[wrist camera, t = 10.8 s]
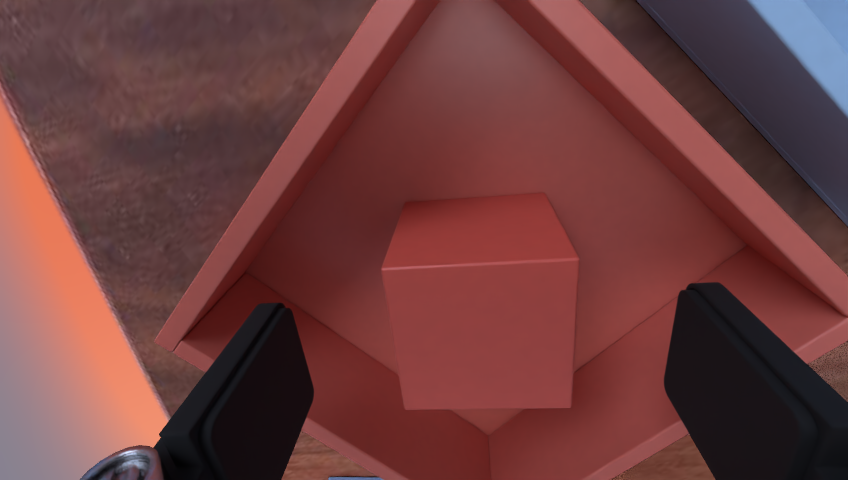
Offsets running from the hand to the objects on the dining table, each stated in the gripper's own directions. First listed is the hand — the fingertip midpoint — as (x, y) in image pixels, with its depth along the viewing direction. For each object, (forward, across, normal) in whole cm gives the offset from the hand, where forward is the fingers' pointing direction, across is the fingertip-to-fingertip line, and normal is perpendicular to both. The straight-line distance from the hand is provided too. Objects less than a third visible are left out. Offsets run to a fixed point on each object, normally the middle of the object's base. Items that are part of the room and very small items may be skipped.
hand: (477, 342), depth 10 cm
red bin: (+5, 0, 0) cm, 5 cm away
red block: (+4, 0, 0) cm, 5 cm away
